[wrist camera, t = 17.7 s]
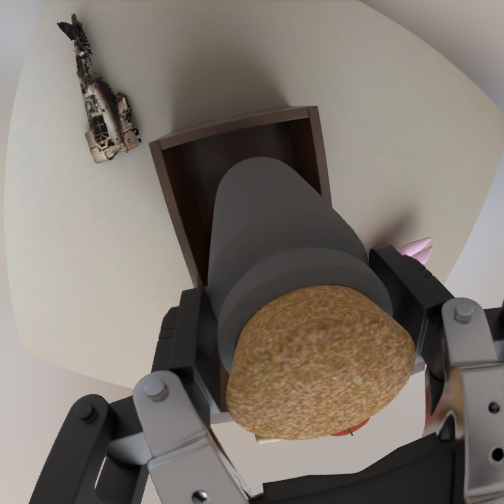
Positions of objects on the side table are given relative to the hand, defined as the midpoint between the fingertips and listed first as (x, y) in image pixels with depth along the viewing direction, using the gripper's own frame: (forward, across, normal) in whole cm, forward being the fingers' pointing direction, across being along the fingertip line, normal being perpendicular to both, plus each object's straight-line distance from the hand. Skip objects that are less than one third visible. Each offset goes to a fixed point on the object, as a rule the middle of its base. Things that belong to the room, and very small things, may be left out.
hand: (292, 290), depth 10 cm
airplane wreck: (+24, +12, -13) cm, 30 cm away
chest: (+23, +1, +2) cm, 23 cm away
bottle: (+11, 0, 0) cm, 11 cm away
